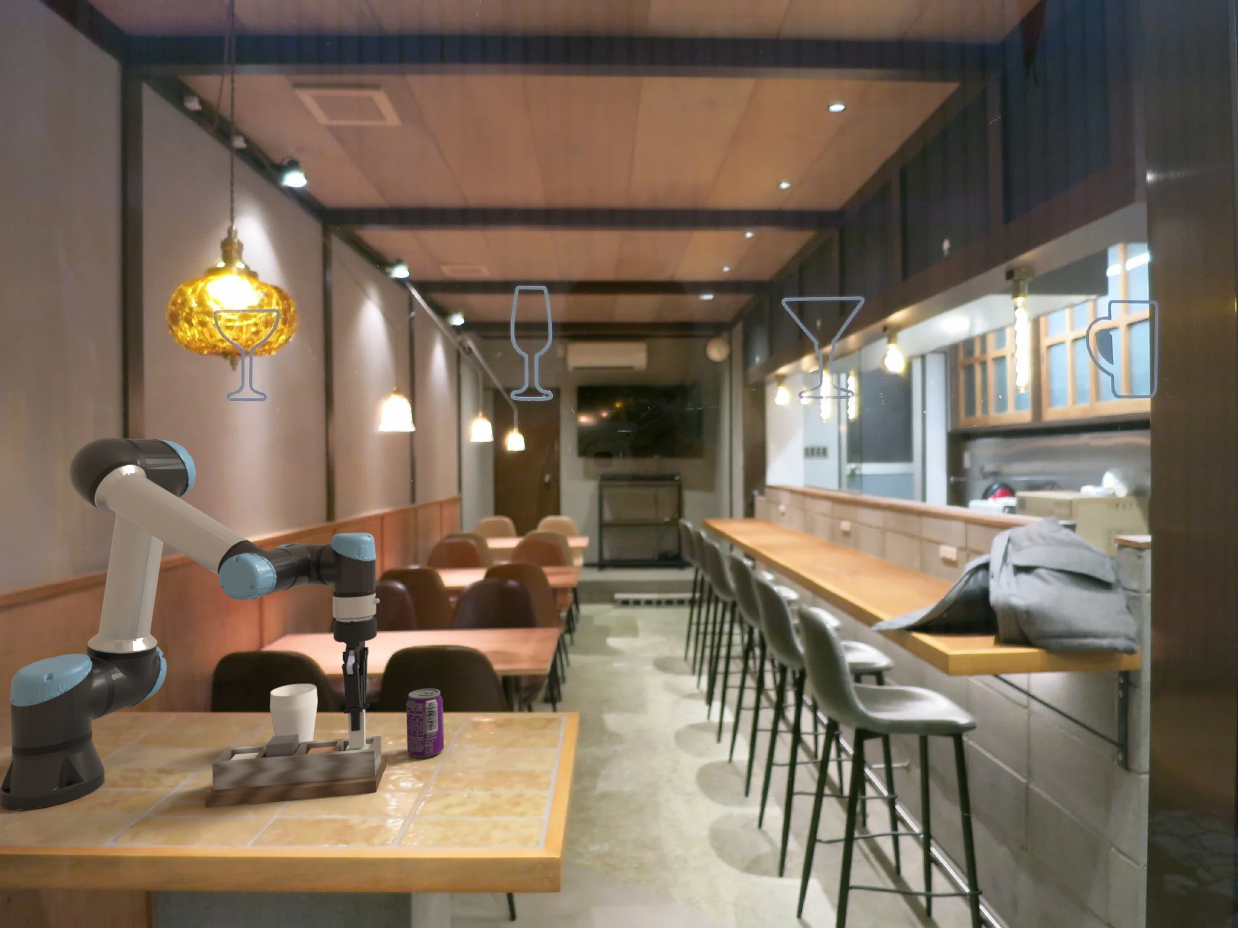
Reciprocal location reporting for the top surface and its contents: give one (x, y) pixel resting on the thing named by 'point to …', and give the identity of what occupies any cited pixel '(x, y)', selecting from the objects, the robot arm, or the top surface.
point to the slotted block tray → (296, 773)
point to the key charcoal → (282, 745)
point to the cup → (294, 710)
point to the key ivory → (244, 756)
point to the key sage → (359, 748)
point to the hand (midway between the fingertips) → (357, 745)
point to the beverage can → (425, 723)
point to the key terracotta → (321, 750)
